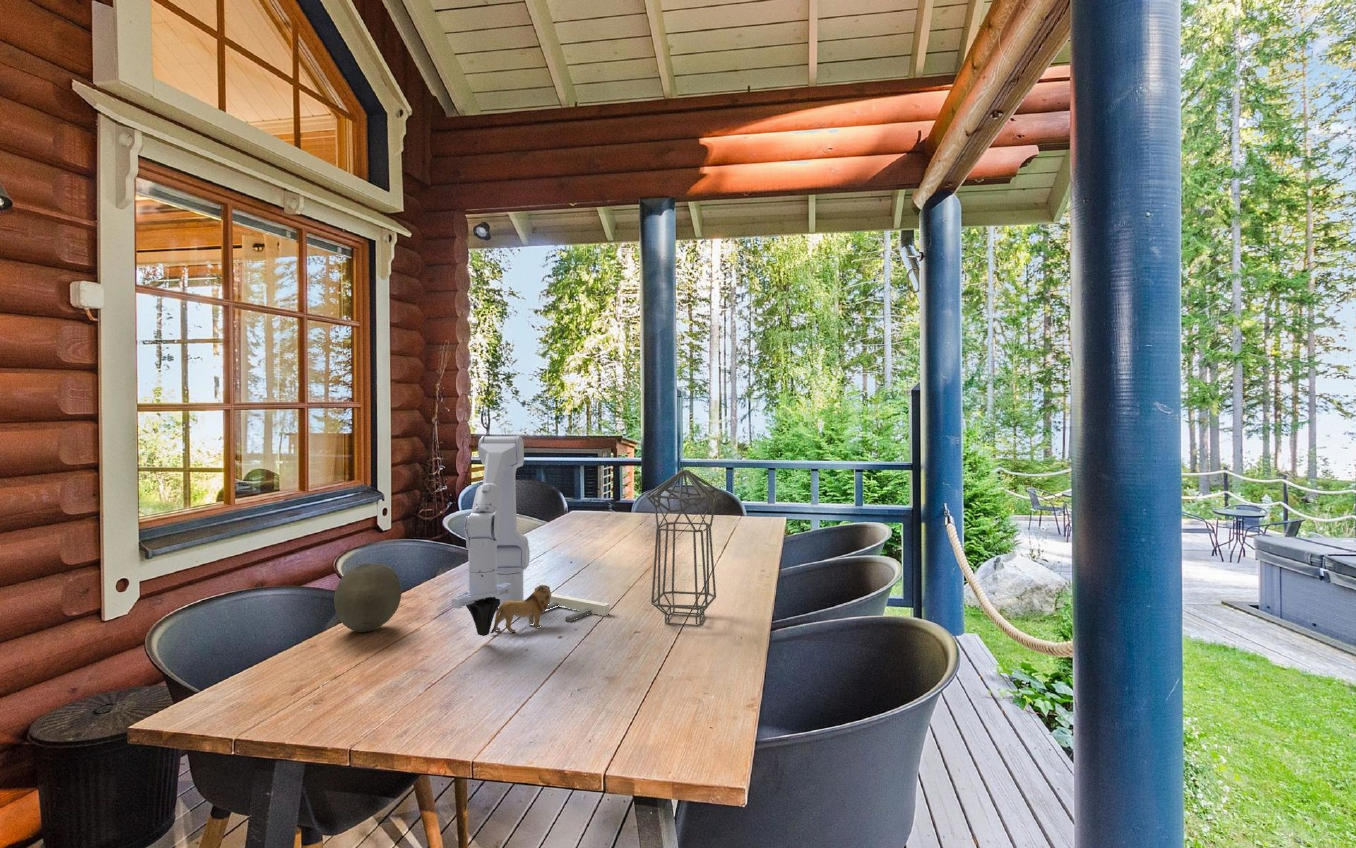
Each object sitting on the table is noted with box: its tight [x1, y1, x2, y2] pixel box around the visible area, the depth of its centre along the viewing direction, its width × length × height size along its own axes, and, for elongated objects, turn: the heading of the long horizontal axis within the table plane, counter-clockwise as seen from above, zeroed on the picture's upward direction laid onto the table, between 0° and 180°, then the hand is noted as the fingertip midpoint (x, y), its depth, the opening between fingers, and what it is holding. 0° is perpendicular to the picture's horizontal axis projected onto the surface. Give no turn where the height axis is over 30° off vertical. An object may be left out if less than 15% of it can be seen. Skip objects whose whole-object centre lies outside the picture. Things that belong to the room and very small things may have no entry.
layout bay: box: [547, 593, 611, 622], centre depth 161 cm, size 20×10×2 cm, turn 58°
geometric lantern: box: [645, 469, 722, 627], centre depth 155 cm, size 16×16×35 cm
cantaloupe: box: [333, 562, 403, 633], centre depth 148 cm, size 14×14×15 cm
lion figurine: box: [489, 584, 552, 634], centre depth 149 cm, size 15×5×9 cm, turn 130°
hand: (483, 634), depth 139 cm, fingers closed
